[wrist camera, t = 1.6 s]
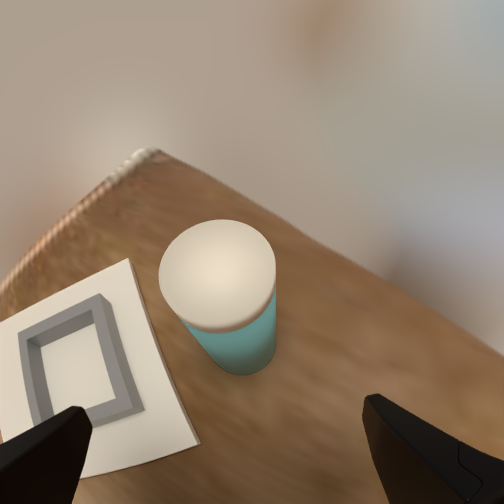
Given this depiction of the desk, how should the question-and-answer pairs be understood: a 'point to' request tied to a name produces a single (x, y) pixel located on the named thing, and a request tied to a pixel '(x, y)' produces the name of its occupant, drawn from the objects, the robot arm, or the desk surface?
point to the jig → (94, 372)
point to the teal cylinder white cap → (224, 292)
